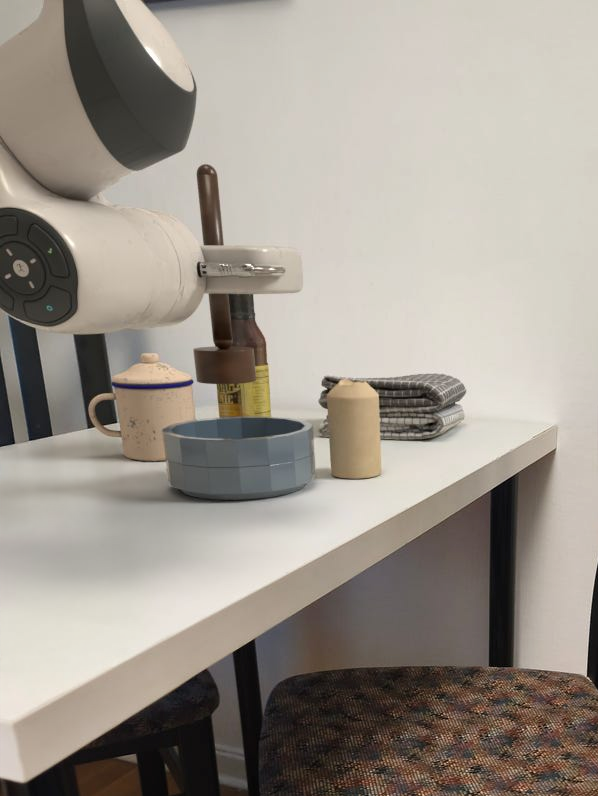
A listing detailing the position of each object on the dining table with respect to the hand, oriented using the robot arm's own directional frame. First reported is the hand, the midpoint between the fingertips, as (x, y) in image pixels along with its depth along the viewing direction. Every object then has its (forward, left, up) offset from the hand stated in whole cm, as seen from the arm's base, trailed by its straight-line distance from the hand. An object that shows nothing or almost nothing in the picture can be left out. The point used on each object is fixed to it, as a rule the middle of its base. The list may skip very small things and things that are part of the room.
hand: (219, 269), depth 84 cm
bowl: (0, +1, -21) cm, 21 cm away
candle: (+11, +7, -21) cm, 25 cm away
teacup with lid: (-15, +17, -21) cm, 31 cm away
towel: (+13, +36, -21) cm, 44 cm away
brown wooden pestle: (0, -1, -10) cm, 10 cm away
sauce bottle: (-4, +21, -21) cm, 30 cm away
